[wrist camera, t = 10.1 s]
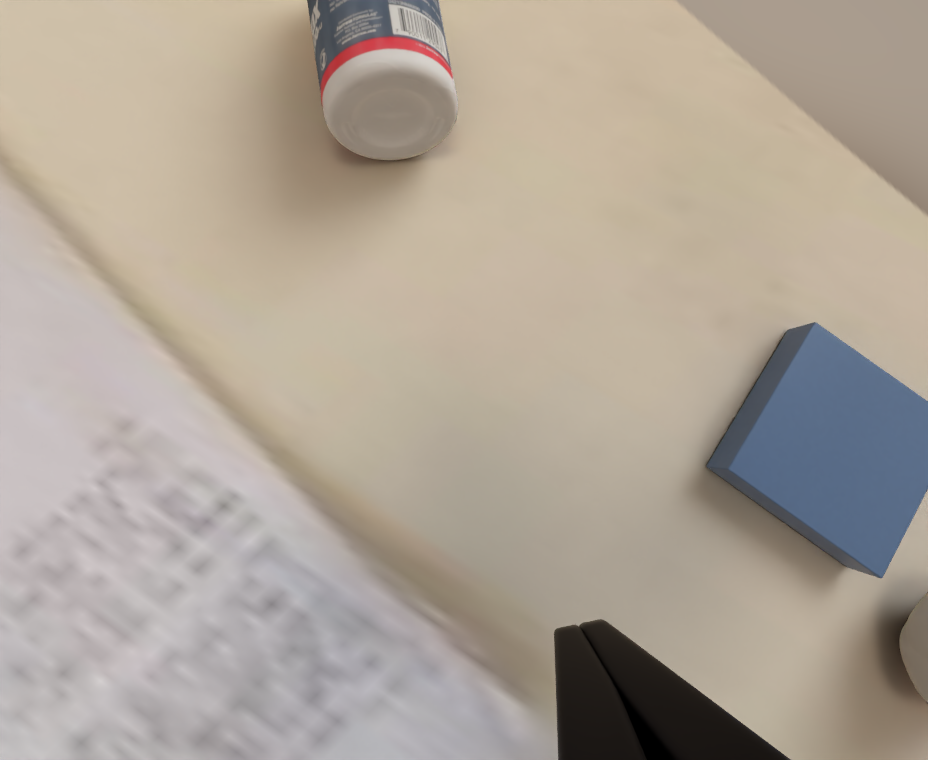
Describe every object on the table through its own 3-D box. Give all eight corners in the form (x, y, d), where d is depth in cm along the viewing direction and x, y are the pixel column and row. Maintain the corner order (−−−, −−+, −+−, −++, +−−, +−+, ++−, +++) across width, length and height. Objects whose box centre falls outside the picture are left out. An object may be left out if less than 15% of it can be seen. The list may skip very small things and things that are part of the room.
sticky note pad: (847, 567, 19) (882, 579, 18) (705, 466, 19) (727, 469, 18) (922, 425, 20) (961, 424, 19) (787, 329, 20) (815, 321, 19)
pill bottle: (349, 173, 20) (324, 1, 21) (463, 152, 20) (432, -21, 21) (299, 81, 14) (269, -144, 16) (454, 51, 14) (413, -174, 15)
